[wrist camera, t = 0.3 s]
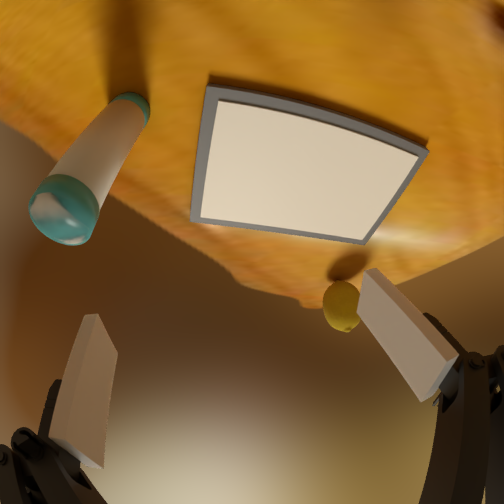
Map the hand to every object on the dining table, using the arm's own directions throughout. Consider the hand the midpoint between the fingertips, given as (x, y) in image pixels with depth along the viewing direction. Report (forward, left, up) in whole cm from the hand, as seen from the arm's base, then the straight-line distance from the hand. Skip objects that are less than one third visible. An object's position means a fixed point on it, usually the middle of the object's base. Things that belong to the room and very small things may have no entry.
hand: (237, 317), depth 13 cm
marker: (-2, -9, -15) cm, 18 cm away
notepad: (+2, +7, -15) cm, 16 cm away
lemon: (+18, +18, -15) cm, 29 cm away
